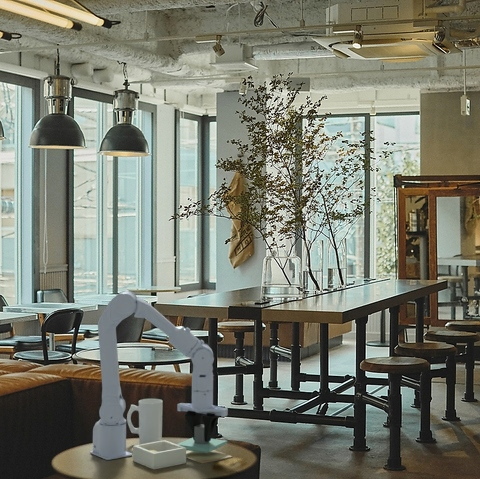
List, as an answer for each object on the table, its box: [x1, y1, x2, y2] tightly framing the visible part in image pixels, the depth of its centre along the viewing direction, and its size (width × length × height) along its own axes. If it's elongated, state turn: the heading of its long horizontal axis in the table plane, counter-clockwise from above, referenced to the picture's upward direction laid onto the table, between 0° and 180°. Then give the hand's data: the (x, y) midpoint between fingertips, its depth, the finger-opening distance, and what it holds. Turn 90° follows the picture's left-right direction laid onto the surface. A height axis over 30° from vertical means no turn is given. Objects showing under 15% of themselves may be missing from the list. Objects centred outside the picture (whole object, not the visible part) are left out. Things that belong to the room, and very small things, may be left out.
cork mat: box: [186, 449, 234, 465], centre depth 246 cm, size 14×10×1 cm
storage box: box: [132, 439, 187, 470], centre depth 238 cm, size 10×10×4 cm
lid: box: [177, 423, 228, 453], centre depth 245 cm, size 10×10×6 cm
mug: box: [126, 398, 163, 445], centre depth 258 cm, size 10×7×12 cm, turn 90°
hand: (202, 440), depth 246 cm, fingers closed on lid, 3 cm apart
